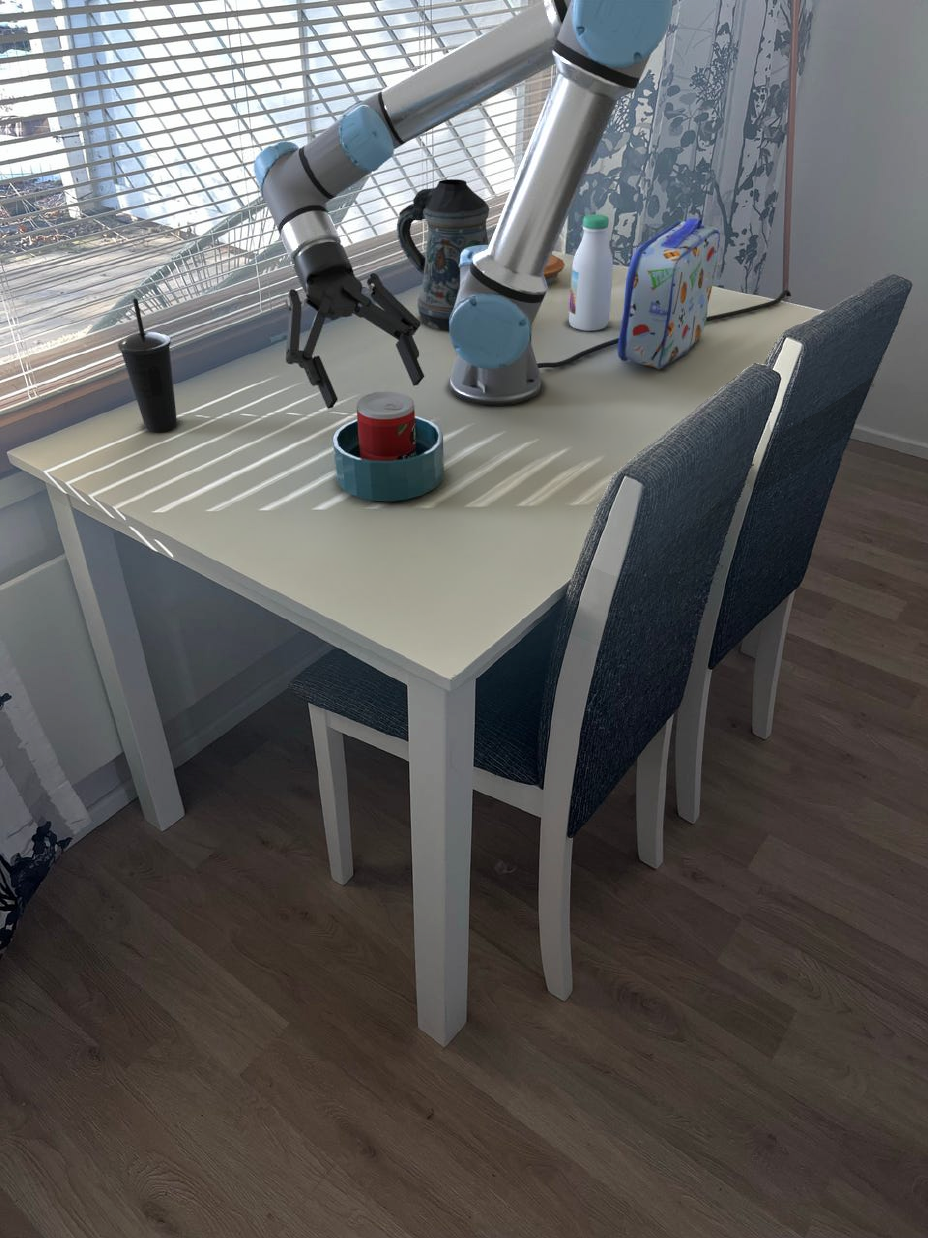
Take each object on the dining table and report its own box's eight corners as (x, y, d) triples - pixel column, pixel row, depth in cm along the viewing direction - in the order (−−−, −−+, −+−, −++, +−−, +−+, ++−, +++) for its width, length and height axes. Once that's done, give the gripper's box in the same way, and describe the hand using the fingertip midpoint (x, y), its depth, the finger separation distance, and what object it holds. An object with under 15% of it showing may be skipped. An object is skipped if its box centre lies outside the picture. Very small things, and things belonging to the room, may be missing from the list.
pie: (487, 289, 204) (487, 265, 201) (497, 267, 216) (498, 244, 213) (560, 293, 202) (561, 269, 199) (566, 270, 214) (567, 247, 211)
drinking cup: (195, 419, 154) (172, 293, 142) (168, 439, 148) (142, 310, 136) (154, 412, 156) (128, 288, 144) (126, 432, 150) (96, 304, 138)
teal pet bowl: (432, 449, 145) (430, 409, 141) (453, 497, 133) (452, 455, 129) (331, 459, 143) (327, 419, 139) (344, 510, 131) (340, 467, 127)
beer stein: (508, 329, 185) (511, 190, 170) (408, 335, 183) (402, 195, 168) (492, 300, 198) (493, 170, 183) (398, 306, 196) (392, 174, 181)
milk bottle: (614, 322, 188) (624, 214, 176) (597, 334, 183) (606, 224, 171) (579, 315, 191) (586, 208, 179) (561, 326, 186) (567, 218, 174)
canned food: (410, 489, 134) (406, 416, 127) (354, 484, 135) (348, 411, 129) (422, 464, 140) (420, 393, 133) (369, 459, 141) (364, 389, 135)
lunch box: (660, 322, 188) (674, 202, 175) (712, 331, 184) (730, 209, 171) (608, 371, 169) (620, 241, 155) (665, 382, 165) (682, 249, 151)
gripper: (387, 254, 143) (443, 383, 142) (228, 285, 132) (288, 425, 131) (403, 224, 136) (462, 360, 135) (238, 254, 125) (300, 402, 124)
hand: (376, 392), depth 133 cm, fingers open, 13 cm apart
